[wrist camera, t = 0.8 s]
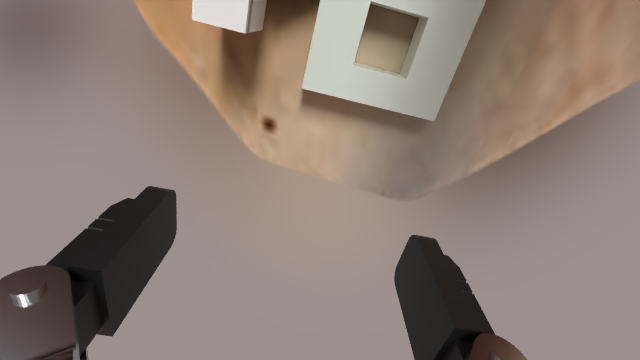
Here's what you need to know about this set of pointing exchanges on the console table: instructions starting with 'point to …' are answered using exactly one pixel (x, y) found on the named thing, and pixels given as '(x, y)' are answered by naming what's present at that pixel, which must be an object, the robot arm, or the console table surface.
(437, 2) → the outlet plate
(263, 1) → the white rectangular block
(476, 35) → the console table surface
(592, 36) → the console table surface
